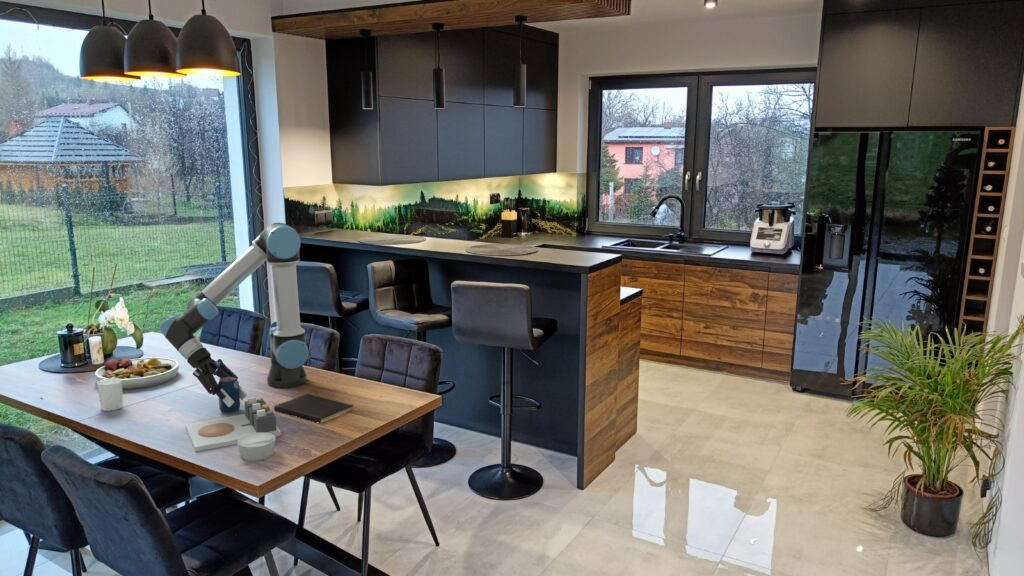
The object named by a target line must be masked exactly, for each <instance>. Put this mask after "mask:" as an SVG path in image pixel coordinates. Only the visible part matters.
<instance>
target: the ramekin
mask: <svg viewBox="0 0 1024 576" xmlns="http://www.w3.org/2000/svg"><path fill="white" fill-rule="evenodd" d="M276 441H277V439H276V437H275V436H274V435H273V434H270V433H252V434H248V435H245V436H242V437H241V438H240V439H239V440H238V441H237V444H236V445H237V447H238V452H239V454H240V457H241V458H242V459H243V460H244V461H247V462H260V461H263V460H267V459H270V458H271V457H272V456H273V455H274V453H275V444H276Z"/></svg>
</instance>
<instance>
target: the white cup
mask: <svg viewBox="0 0 1024 576" xmlns="http://www.w3.org/2000/svg"><path fill="white" fill-rule="evenodd" d="M96 385H97V393H98V398H99V402H100V408H101V410H102V411H104V412H108V411H109V412H111V410H112V411H116V410H120V409H122V408H123V406H124V404H123V403H124V402H123V400H124V399H123V394H124V393H123V391H124V390H123V389H122V379H120V378H108V379H103V380H100V381H97V382H96Z"/></svg>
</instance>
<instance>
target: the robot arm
mask: <svg viewBox="0 0 1024 576" xmlns="http://www.w3.org/2000/svg"><path fill="white" fill-rule="evenodd" d="M251 242H252V243H251V244H252V245H251V246H249V248H248V249H246V250H245V251H244V252H243V253H242V254H240V256H239V257H238V258H237V259H236V260H235V261H234V262H232V263H231V264H230V265H229V266H228V267H226V269H224V270H223V271H222V272H221V273H220V274H219V275H217V277H216V278H214V279H213V281H211V282H210V283H209V284H208V285H207V286H205V288H204V289H203V290H201V291H200V292H199V293H198V294H197V295H195V296H193V297H191V298H190V300H189V301H188V302H187V305H186V307H187V308H186V309H187V311H186V312H185V313H184V314H182V315H181V316H180V317H179V316H176V315H172V316H169V317H168V318H165V320H163V321H162V323H160V324H159V331H160V333H162V335H163V336H164V338H165V339H166V340H167V341H168V342H169V343H170V344H171V345H172V347H174V349H175V350H176V351H177V352H178V353H179V354H180V355H181V356H182V358H184V359H185V360H186V361H187V363H188V364H189V366H191V368H192V369H195V370H194V371H193V372H192V376H194V377H195V378H196V379H197V380H198V381H199V383H200V384H201V385H202V386H203V388H204V389H205V390H206V392H207V393H208V394H209V395H212V396H215V395H216V396H217V397H218V399H219V398H220V399H221V400H223V401H224V403H225V404H226V405H227V406H228V407H230V406H231V405H232V404H233V403H234V401H233V400H232V399H231V397H230V396H229V395H228V394H227V393H226V392H225V391H224V390H223V389H220V388H219V386H218V382H217V380H216V378H215V376H217V377H218V378H219V379H220V378H223V377H227V376H234V377H236V378H237V380H238V379H239V377H238V376H237V374H235V373H234V372H233V371H232V370H231V369H230V367H228V366H227V365H226V364H225V363H224V362H223V360H222V359H221V358H218V359H217V360H215V359H214V358H211V356H212V354H211V353H210V351H209V350H207V348H206V347H204V345H203V344H202V343H201V341H200V340H199V339H197V336H196V335H194V334H195V333H197V332H198V331H199V330H200V329H202V328H203V327H204V326H205V325H207V324H208V323H209V322H210V321H211V320H213V319H214V318H215V317H216V316H217V315H219V309H218V308H217V305H219V304H220V303H221V302H222V301H223V300H224V299H225V298H226V297H228V295H230V294H231V293H232V292H233V291H234V290H235V289H236V288H238V287H239V286H240V285H241V284H242V283H243V282H244V281H245V280H246V279H248V278H249V276H251V275H252V274H253V273H254V272H255V271H256V270H257V269H259V267H261V266H262V265H263V264H264V263H265V262H267V264H269V265H270V266H271V271H272V272H271V273H272V281H273V282H272V285H273V294H274V295H273V296H274V308H275V309H274V311H275V320H276V326H273V327H270V329H269V335H268V336H269V345H270V346H269V347H270V348H269V349H270V367H269V371H268V374H267V378H266V379H267V385H268V386H270V387H273V388H283V389H284V388H292V387H297V386H300V385H303V384H305V383H306V382H307V381H308V375H307V373H306V370H305V368H304V364H305V363H306V361H308V358H309V348H308V345H307V341H306V329H304V328H303V327H302V326H301V315H300V303H299V302H300V301H299V290H298V289H299V288H298V275H297V274H298V273H297V265H298V263H299V262H300V261H301V257H300V248H301V237H300V235H299V234H298V232H297V231H296V230H295V229H294V228H293V227H292V226H290V225H288V224H287V223H283V222H273V223H270V224H269V225H268V226H267V227H266V228H264V229H263V230H262V232H260V234H259V235H258V236H257V237H256V238H255V239H254V240H252V241H251ZM239 394H240V401H243V400H244V399H245V398H246V397H247V396H248V394H247V392H246V391H245V390H243V388H242V387H241V385H239Z"/></svg>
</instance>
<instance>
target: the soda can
mask: <svg viewBox="0 0 1024 576" xmlns="http://www.w3.org/2000/svg"><path fill="white" fill-rule="evenodd" d="M218 381H219V382H217V384H218V386H219V388H220V389H223V390H224V391H225V392H226V393H227V394H228V395H229V396H230V397H231V399H232V400H233V401H234V403H233V404H232V405H231V406H230V407H228V406H227V405H226V404H225V403H224V401H223V400H221V399H220V398H219V397H218V406H219V410H220V412H221V413H223V414H226V415H227V414H235V413H236V412H238V411H239V410H240V408H241V399H240V394H239V386H240V384H239V383H240V382H239V381H238V379H237V378H236V377H234V376H227V377H223V378H219V380H218Z"/></svg>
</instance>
